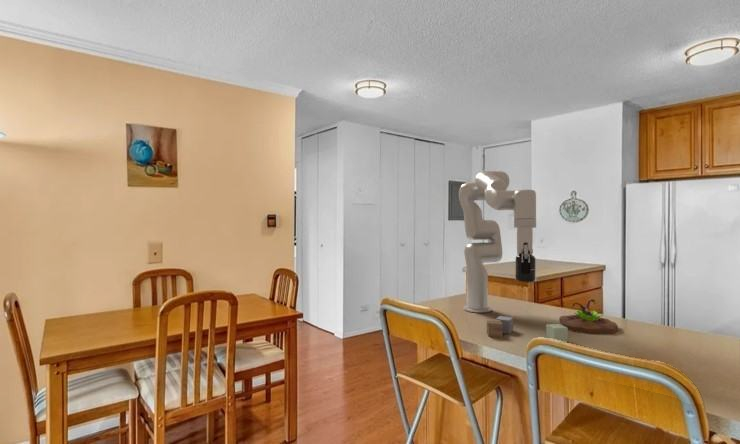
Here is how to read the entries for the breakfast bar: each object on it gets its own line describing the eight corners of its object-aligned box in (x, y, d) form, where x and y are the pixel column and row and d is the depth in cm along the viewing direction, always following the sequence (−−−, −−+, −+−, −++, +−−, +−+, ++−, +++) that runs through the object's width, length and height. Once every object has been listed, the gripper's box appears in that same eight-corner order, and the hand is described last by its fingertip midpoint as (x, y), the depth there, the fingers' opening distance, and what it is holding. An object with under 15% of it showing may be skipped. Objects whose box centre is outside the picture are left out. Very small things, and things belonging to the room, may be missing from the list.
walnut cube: (486, 332, 148) (486, 319, 148) (500, 333, 147) (500, 320, 147) (488, 336, 143) (488, 323, 143) (502, 337, 142) (502, 323, 142)
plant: (624, 337, 141) (624, 306, 141) (564, 332, 147) (564, 303, 147) (610, 322, 160) (610, 295, 159) (557, 319, 166) (557, 293, 166)
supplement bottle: (532, 282, 138) (532, 249, 138) (513, 281, 142) (512, 248, 142) (537, 280, 144) (537, 247, 143) (518, 278, 148) (518, 247, 147)
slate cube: (499, 328, 153) (499, 316, 153) (513, 330, 150) (513, 317, 150) (496, 331, 149) (496, 318, 149) (509, 333, 146) (509, 320, 146)
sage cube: (546, 338, 140) (546, 324, 140) (559, 337, 140) (559, 323, 140) (554, 342, 135) (553, 328, 135) (567, 342, 135) (567, 327, 135)
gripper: (513, 223, 152) (514, 268, 152) (514, 224, 136) (514, 275, 136) (534, 223, 149) (535, 269, 150) (537, 224, 133) (538, 276, 133)
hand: (525, 271), depth 143 cm, fingers closed on supplement bottle, 6 cm apart
